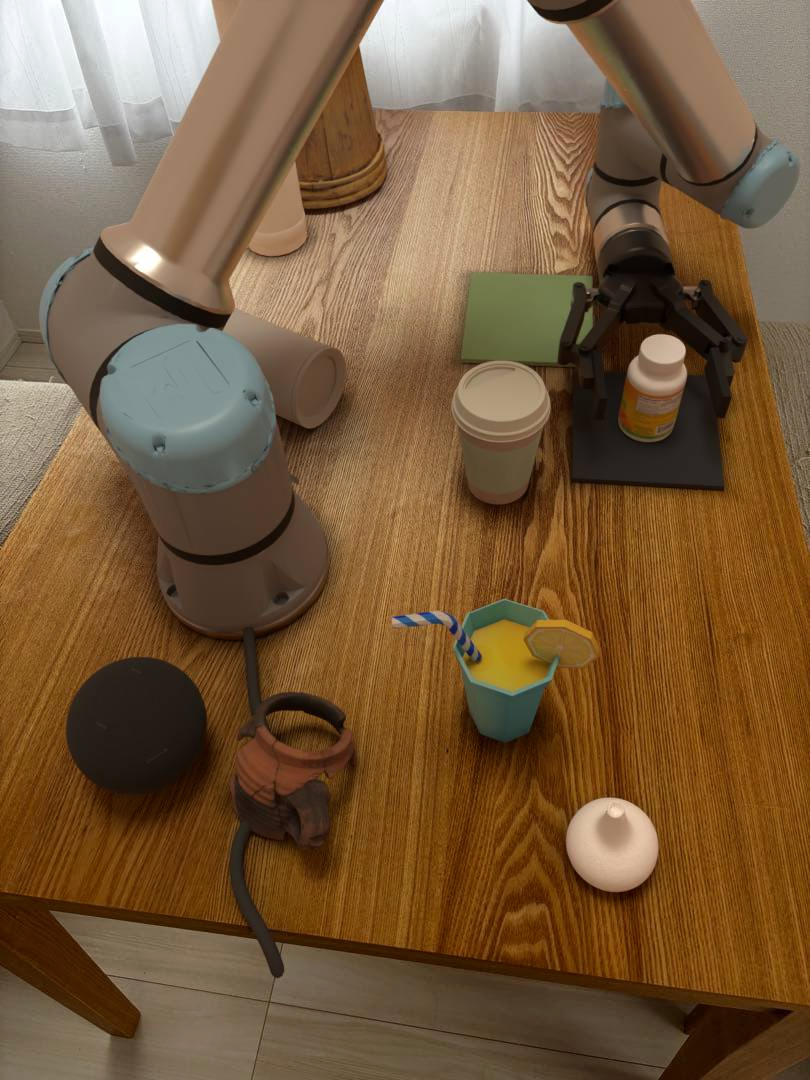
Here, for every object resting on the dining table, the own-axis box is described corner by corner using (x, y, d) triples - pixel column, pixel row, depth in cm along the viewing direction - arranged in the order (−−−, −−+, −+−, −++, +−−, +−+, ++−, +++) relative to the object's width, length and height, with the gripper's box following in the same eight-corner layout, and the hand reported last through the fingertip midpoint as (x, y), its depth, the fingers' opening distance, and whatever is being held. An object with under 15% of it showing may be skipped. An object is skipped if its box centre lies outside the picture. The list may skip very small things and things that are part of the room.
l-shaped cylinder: (295, 308, 98) (125, 370, 94) (288, 239, 89) (99, 305, 84) (364, 427, 92) (185, 500, 87) (364, 367, 82) (164, 445, 78)
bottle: (285, 212, 112) (236, -52, 88) (320, 238, 108) (280, -31, 84) (233, 238, 110) (168, -28, 86) (268, 265, 106) (210, -5, 82)
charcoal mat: (723, 490, 81) (724, 486, 80) (571, 481, 83) (572, 477, 82) (710, 379, 90) (711, 375, 89) (573, 373, 91) (573, 369, 91)
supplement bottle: (622, 400, 88) (637, 324, 80) (676, 410, 87) (697, 333, 79) (613, 438, 85) (628, 362, 77) (669, 448, 84) (690, 373, 76)
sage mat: (592, 368, 92) (593, 363, 91) (460, 362, 93) (460, 358, 93) (592, 280, 101) (592, 275, 100) (471, 276, 102) (471, 272, 102)
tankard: (239, 212, 113) (191, 3, 93) (279, 120, 127) (244, -80, 107) (376, 216, 111) (356, 2, 91) (401, 121, 124) (388, -82, 104)
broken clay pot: (208, 772, 68) (224, 689, 64) (318, 754, 72) (339, 677, 69) (256, 897, 59) (278, 810, 55) (379, 868, 64) (406, 786, 60)
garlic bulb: (654, 903, 60) (676, 869, 53) (562, 889, 61) (573, 854, 54) (653, 813, 63) (674, 771, 57) (566, 802, 64) (577, 759, 58)
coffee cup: (542, 450, 85) (552, 356, 76) (542, 518, 80) (552, 427, 71) (455, 447, 86) (454, 354, 76) (450, 514, 81) (447, 424, 71)
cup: (404, 760, 67) (390, 667, 55) (404, 670, 72) (391, 566, 60) (586, 755, 66) (612, 661, 54) (574, 665, 71) (596, 560, 59)
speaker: (188, 828, 65) (149, 778, 57) (70, 795, 67) (16, 742, 59) (239, 709, 70) (210, 648, 62) (129, 682, 72) (87, 619, 64)
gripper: (734, 285, 94) (779, 435, 80) (522, 290, 95) (532, 438, 82) (752, 223, 88) (805, 375, 74) (526, 230, 89) (537, 379, 76)
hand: (662, 408), depth 78 cm, fingers open, 10 cm apart
